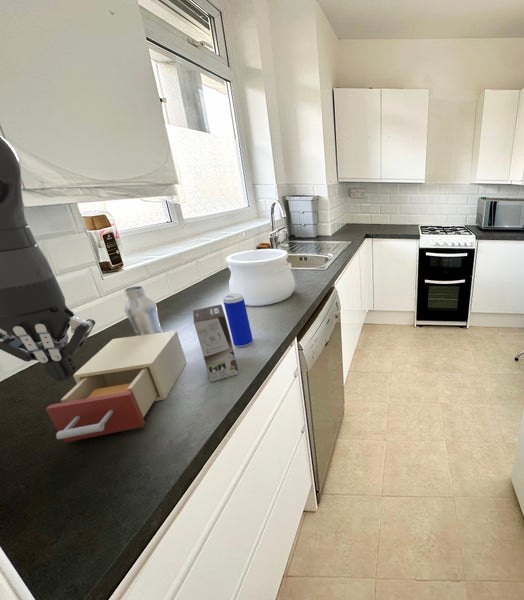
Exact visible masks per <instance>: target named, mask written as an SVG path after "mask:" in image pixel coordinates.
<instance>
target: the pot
mask: <svg viewBox="0 0 524 600" xmlns="http://www.w3.org/2000/svg"><path fill="white" fill-rule="evenodd" d="M288 258H289V253H288V251H286V250H284V249H279V248H260V249H259V248H258V249H251V250H244V251H240V252H236V253H233V254H232V253H231V254H230V255H228V256H226V258H225V261H226V262H225V263H226V264H227V267H228V270H229V272H230V276H229V281H228V290H229V294H242V296H243V298H244V301H245V306H251V307H253V306H254V307H257V306H258V307H261V306H268V305H272V304H275V303H279V302H280V303H281V302H282V301H284V300H287V299H288V298H290V297H291V296H292V295H293V293H294V291H295V288H296V282H295V277H294V274H293V273H292V271H291V270H292V269H293V267H292V263H291V262H288V260H287V259H288Z"/></svg>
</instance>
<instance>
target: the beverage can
mask: <svg viewBox="0 0 524 600" xmlns="http://www.w3.org/2000/svg"><path fill="white" fill-rule="evenodd" d="M223 306H224V310H225V314H226V315H225V316H226V318H227V319H226V320H227V324H228V328H229V332H230V336H231V340H232V344H233V345H234V346H235V347H237V348H244V347H247V346H250V345H251V344H252V343H253V341H254V338H253V334H252V330H251V329H252V328H251V325H250V320H249V315H248V311H247V307H246V306H247V305H245V301H244V298H243V296H242V294H231V293H229V294H227V295H225V296H224V297H223Z"/></svg>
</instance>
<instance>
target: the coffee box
mask: <svg viewBox="0 0 524 600" xmlns="http://www.w3.org/2000/svg"><path fill="white" fill-rule="evenodd" d="M192 314H193V324H194V327H195V332H196V335H197V338H198V341H199V345H200V348H201V349H200V350H201V352H202V356H203V360H204V363H205V366H206V370H207V373H208V376H209V381H210V382H211V383H212V382H216V381H219V380H222V379H226V378H230V377H234V376H237V375H238V374H239V370H238V364H237V360H236V356H235V349H234V346H233V340H232V336H231V332H230V328H229V324H228V320H227V319H226V318H227V317H226V315H225V314H226V313H225V311H224V308H223V305H222V304H217V305H211V306H207V307H203V308H198V309H194V310H192Z"/></svg>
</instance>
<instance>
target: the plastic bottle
mask: <svg viewBox="0 0 524 600" xmlns="http://www.w3.org/2000/svg"><path fill="white" fill-rule="evenodd" d="M146 293H147V292H146V290H145V289H144V286H142V285H136V286H131V287H127V288H125V289H124V294H125V297H126V298H128V299H127V301H126V303H125V305H124V313H125V315H126V317H127V318H128V320H129V322H130V323H131V326H132V328H133V329H134V332H135V336H140V335H148V334H155V333H163V332H164V331H163V329H162V326H161V324H160V323H161V322H160V318H159V311H158V305H157V303H156V302H155V300H153V299H152V298H151V297H149V296H147V295H146Z"/></svg>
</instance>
